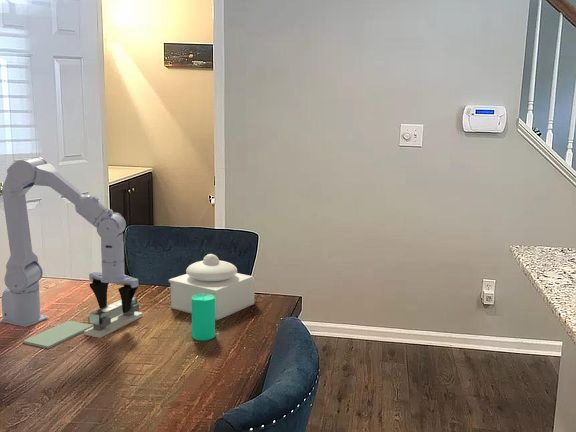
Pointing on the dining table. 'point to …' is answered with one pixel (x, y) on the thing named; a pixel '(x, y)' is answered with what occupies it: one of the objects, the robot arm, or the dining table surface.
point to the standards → (113, 323)
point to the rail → (108, 311)
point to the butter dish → (213, 286)
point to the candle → (203, 316)
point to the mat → (57, 334)
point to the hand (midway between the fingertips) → (114, 309)
